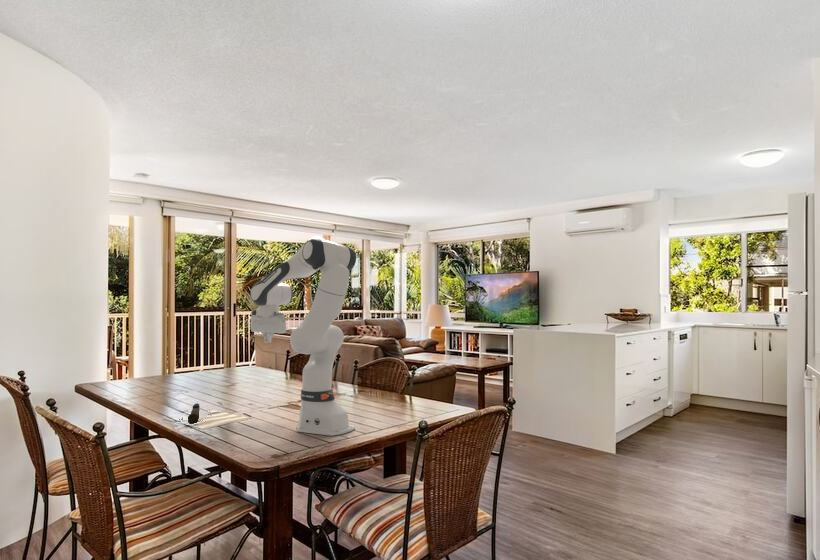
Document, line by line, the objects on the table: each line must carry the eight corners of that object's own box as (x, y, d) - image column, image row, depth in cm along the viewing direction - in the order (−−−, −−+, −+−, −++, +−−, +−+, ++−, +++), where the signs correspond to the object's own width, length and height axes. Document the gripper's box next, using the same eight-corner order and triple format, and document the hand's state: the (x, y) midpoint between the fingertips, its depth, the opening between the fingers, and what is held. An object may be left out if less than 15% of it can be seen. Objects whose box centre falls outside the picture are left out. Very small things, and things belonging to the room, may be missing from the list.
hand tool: (198, 423, 190) (199, 411, 190) (187, 424, 189) (187, 412, 189) (203, 413, 208) (204, 402, 208) (193, 413, 207) (194, 402, 207)
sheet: (251, 420, 201) (251, 417, 201) (203, 431, 182) (203, 429, 182) (209, 411, 216) (209, 409, 216) (160, 421, 197) (160, 418, 197)
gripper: (290, 312, 220) (289, 343, 219) (259, 311, 231) (258, 341, 230) (279, 312, 215) (278, 344, 214) (248, 311, 226) (247, 341, 225)
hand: (267, 342), depth 222 cm, fingers closed
